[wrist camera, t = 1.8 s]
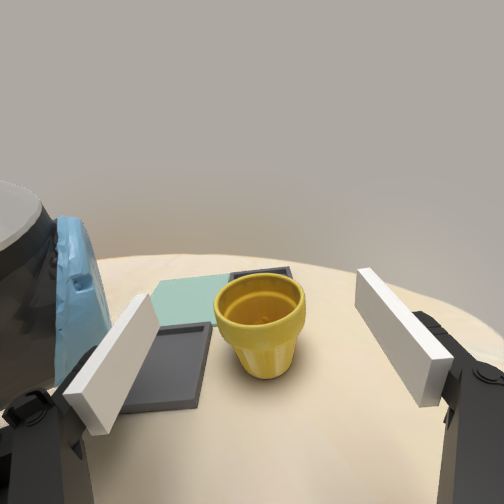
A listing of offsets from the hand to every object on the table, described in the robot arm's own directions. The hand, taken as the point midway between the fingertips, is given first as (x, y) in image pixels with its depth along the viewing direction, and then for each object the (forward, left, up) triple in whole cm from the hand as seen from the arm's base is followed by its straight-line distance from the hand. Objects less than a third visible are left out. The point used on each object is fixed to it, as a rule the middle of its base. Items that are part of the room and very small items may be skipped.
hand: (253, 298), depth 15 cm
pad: (-14, +24, -17) cm, 32 cm away
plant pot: (0, +10, -17) cm, 20 cm away
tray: (-14, +10, -17) cm, 24 cm away
